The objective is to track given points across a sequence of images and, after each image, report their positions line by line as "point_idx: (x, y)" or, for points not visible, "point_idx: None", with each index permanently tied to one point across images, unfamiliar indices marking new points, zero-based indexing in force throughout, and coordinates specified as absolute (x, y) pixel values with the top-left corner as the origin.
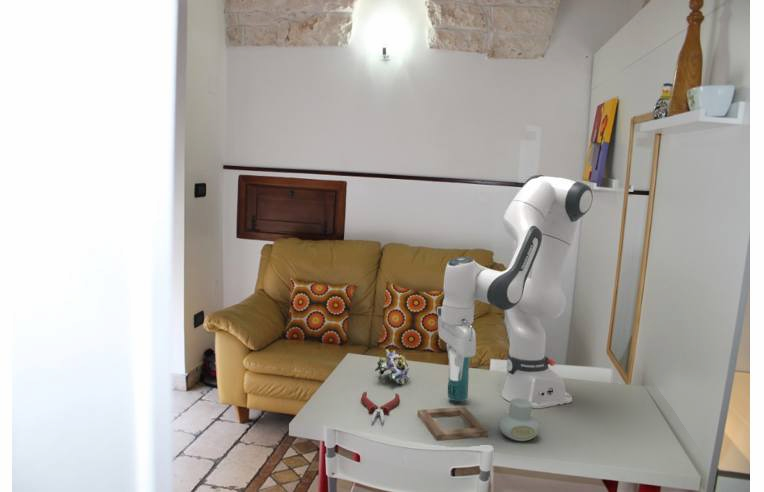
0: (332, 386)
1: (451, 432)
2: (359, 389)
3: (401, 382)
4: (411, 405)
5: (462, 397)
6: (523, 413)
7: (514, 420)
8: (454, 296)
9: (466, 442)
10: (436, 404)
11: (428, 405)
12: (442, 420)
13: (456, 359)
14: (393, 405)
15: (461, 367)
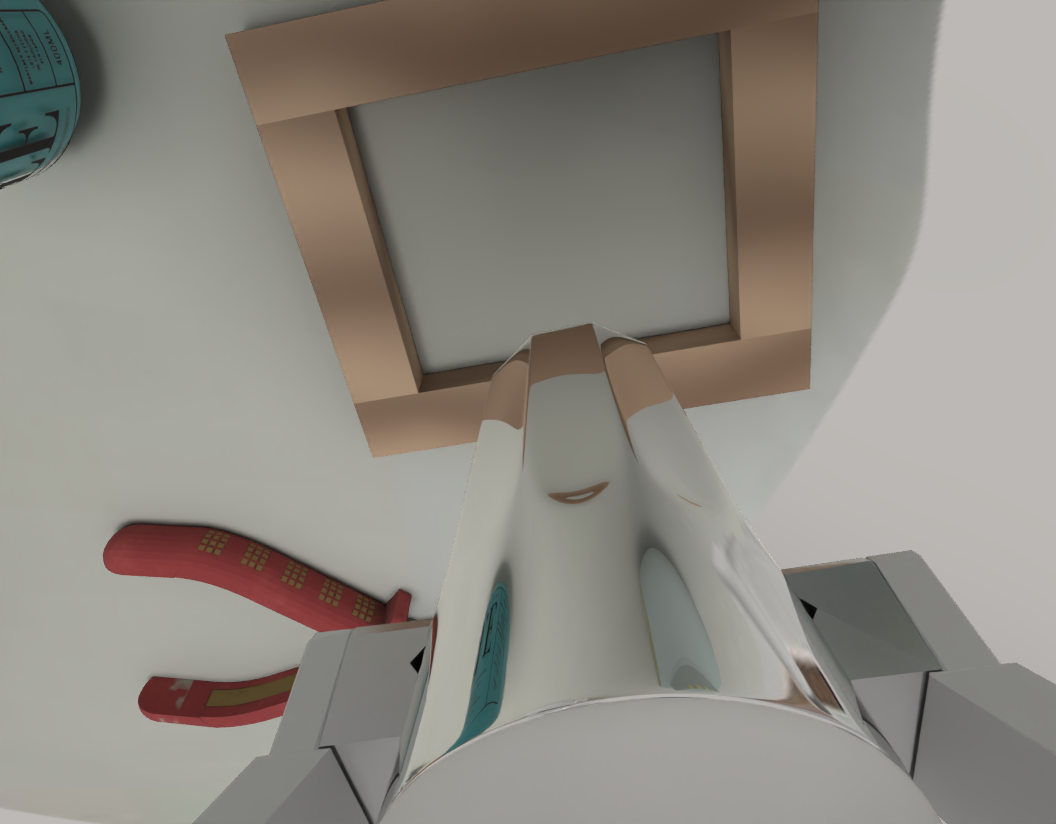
0: (50, 800)
1: (786, 278)
2: (39, 702)
3: None
4: (215, 456)
5: (46, 31)
6: None
7: None
8: None
9: (872, 157)
10: (141, 275)
11: (182, 341)
12: (464, 277)
13: (958, 808)
14: (297, 579)
15: (716, 473)
